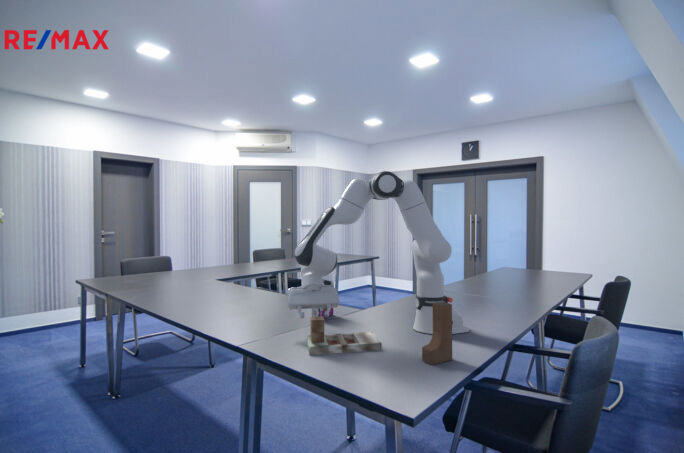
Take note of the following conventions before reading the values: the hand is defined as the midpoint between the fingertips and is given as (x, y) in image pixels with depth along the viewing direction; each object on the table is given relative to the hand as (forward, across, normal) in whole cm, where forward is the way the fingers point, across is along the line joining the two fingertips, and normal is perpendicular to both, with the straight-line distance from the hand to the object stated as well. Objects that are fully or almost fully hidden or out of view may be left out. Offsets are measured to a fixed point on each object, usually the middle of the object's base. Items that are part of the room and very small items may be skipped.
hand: (314, 317), depth 131 cm
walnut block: (+11, 0, -2) cm, 11 cm away
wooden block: (+26, +37, -14) cm, 47 cm away
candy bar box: (-17, +7, +29) cm, 34 cm away
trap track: (+13, +9, -1) cm, 16 cm away
